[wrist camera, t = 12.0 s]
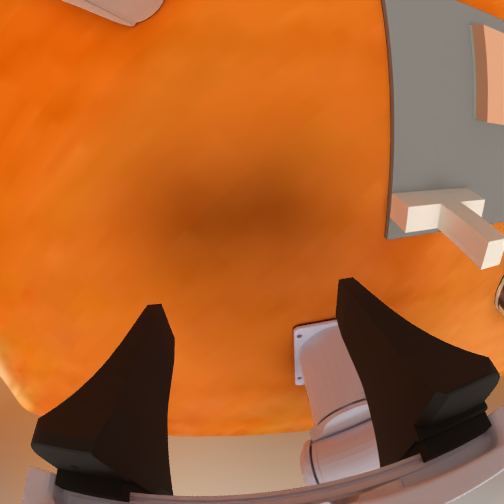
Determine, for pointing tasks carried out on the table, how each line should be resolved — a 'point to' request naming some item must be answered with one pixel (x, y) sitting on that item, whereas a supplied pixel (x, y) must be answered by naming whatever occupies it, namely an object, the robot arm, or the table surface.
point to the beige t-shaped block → (451, 221)
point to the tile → (488, 73)
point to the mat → (439, 106)
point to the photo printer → (120, 9)
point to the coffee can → (500, 297)
